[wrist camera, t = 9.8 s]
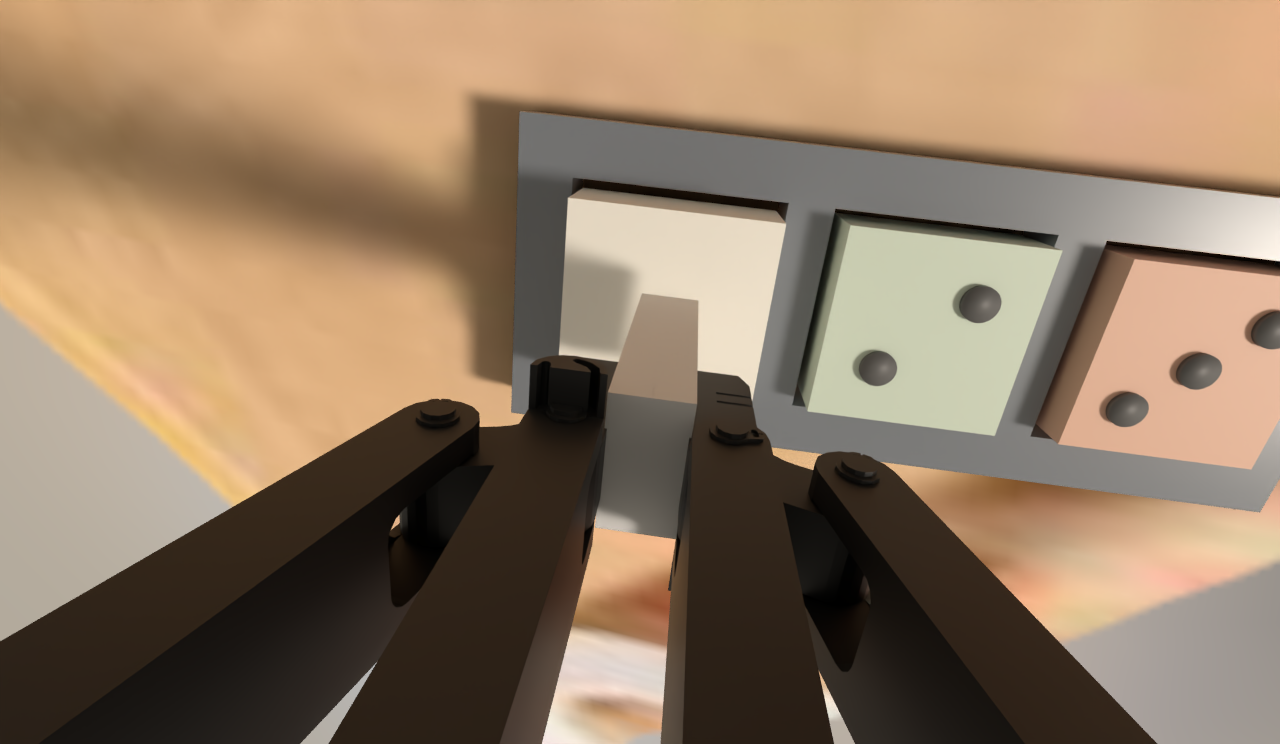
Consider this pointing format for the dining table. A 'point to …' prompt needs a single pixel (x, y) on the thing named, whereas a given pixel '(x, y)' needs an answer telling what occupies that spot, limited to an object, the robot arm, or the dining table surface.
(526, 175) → the tile tray
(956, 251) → the tile two
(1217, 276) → the tile three
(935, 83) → the dining table surface
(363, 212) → the dining table surface
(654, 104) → the dining table surface
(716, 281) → the tile one
